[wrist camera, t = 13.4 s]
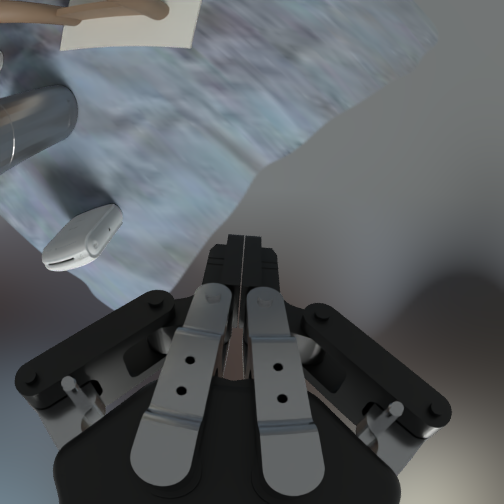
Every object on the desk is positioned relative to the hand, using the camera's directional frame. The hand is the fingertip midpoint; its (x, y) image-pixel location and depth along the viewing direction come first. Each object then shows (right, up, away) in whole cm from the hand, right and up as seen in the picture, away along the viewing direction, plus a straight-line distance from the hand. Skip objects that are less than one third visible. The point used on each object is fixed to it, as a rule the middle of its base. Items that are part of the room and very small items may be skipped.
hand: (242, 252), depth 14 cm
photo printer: (-24, +6, +30) cm, 39 cm away
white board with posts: (-15, +35, +9) cm, 39 cm away
